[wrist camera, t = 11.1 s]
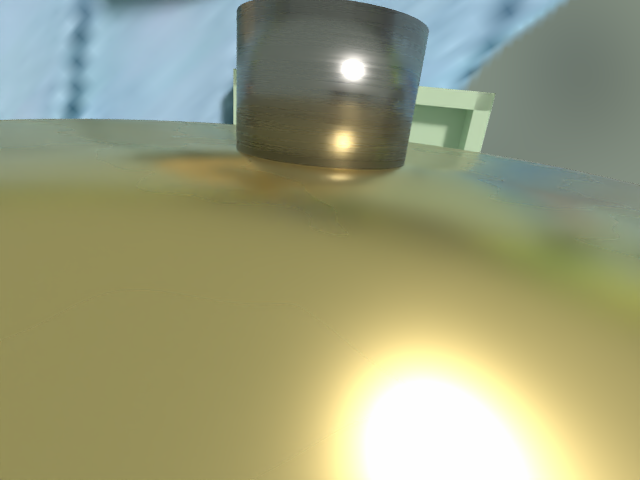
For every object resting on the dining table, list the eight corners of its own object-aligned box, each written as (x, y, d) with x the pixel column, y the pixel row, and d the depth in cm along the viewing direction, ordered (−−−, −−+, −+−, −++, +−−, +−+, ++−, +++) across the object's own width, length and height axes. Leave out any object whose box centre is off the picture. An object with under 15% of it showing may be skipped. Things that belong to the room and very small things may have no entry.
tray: (482, 95, 22) (495, 93, 20) (398, 433, 34) (400, 457, 31) (246, 72, 24) (233, 68, 21) (241, 405, 35) (232, 426, 33)
